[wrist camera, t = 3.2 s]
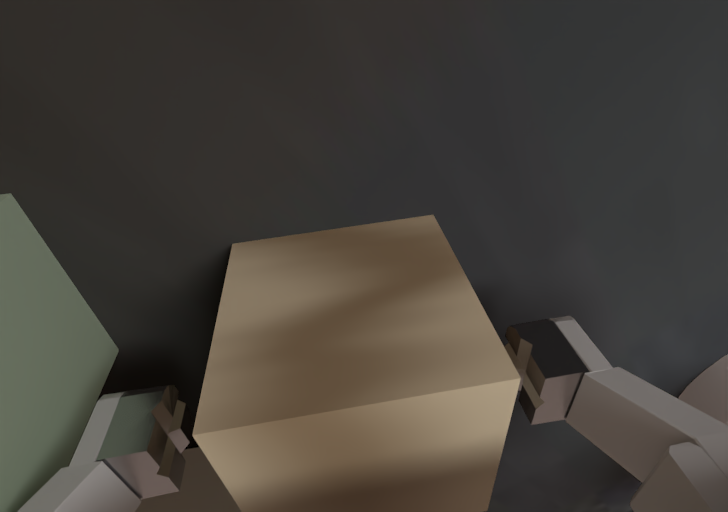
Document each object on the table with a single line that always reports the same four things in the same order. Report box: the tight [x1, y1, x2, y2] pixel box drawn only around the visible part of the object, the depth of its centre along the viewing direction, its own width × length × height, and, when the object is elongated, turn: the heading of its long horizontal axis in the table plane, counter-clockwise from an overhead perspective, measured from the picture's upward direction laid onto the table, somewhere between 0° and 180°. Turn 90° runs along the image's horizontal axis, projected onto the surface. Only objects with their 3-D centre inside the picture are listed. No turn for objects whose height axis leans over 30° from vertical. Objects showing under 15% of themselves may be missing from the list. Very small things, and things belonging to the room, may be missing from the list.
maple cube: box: [192, 215, 521, 512], centre depth 10 cm, size 5×5×5 cm
